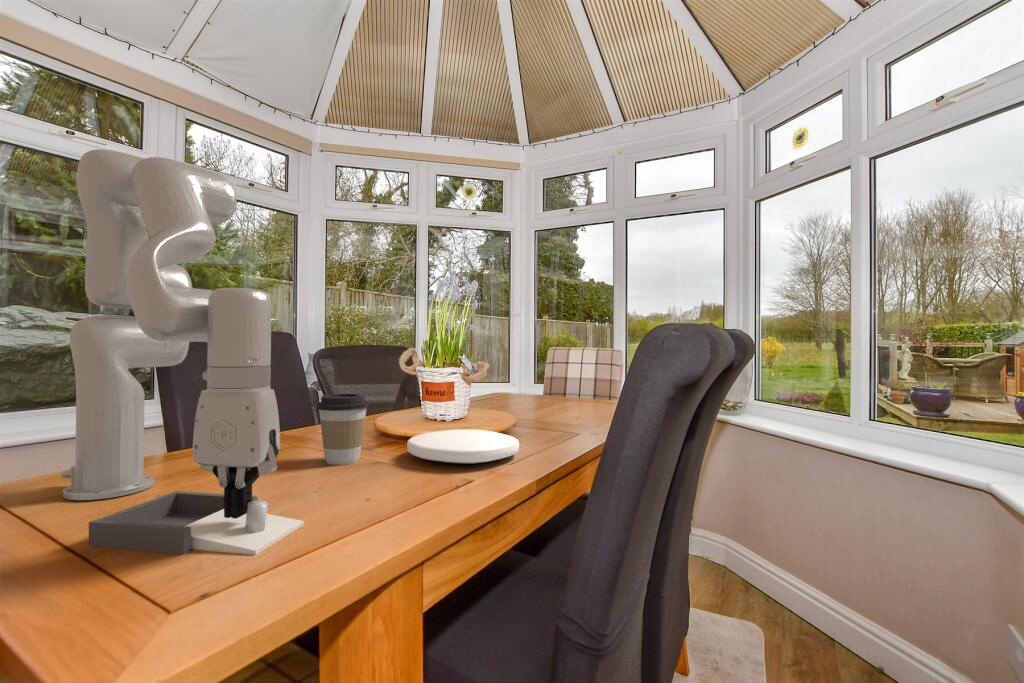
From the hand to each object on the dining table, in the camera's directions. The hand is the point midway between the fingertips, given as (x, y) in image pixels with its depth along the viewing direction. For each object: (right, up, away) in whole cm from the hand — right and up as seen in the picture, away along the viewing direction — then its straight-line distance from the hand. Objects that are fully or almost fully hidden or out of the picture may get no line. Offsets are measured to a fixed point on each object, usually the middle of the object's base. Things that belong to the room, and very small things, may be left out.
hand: (237, 514), depth 65 cm
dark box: (-8, -4, +1) cm, 9 cm away
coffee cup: (-2, -4, +45) cm, 45 cm away
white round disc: (+26, -5, +51) cm, 57 cm away
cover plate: (0, -3, 0) cm, 3 cm away
